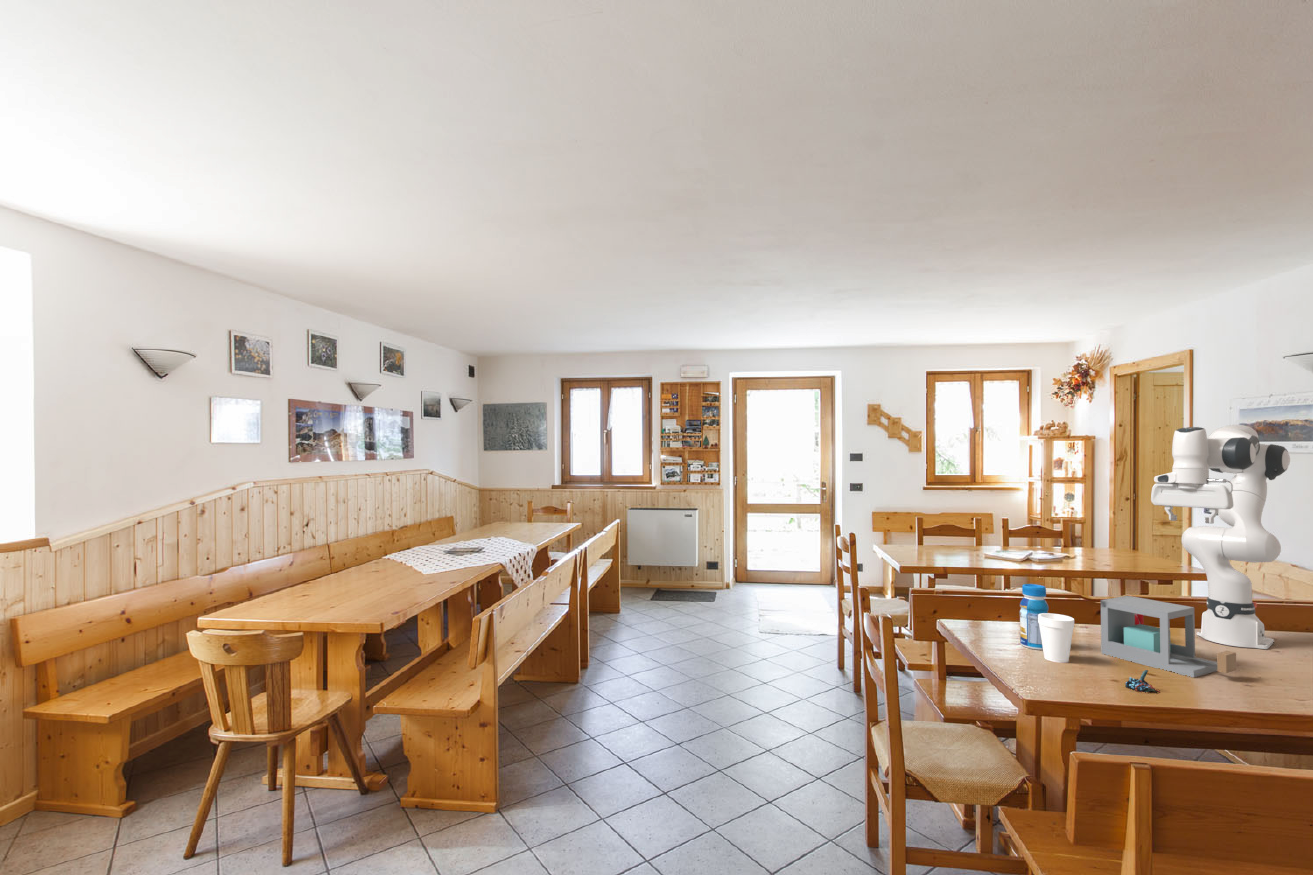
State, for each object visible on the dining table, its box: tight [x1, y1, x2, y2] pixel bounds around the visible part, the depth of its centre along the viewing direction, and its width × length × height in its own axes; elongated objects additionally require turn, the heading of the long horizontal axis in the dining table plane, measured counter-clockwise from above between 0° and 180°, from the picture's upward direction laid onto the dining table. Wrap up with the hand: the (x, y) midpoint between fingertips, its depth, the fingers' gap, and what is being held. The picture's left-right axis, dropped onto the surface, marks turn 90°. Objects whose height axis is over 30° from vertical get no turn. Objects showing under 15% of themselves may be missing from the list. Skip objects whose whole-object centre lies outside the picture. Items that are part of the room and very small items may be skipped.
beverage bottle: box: [1019, 583, 1049, 651], centre depth 205 cm, size 8×8×20 cm
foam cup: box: [1038, 612, 1075, 664], centre depth 192 cm, size 10×9×13 cm
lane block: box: [1124, 624, 1237, 674], centre depth 186 cm, size 10×24×7 cm, turn 27°
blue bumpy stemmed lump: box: [1124, 669, 1161, 694], centre depth 167 cm, size 8×7×8 cm
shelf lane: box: [1100, 595, 1218, 678], centre depth 191 cm, size 16×24×17 cm, turn 27°
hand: (1190, 521), depth 196 cm, fingers open, 8 cm apart
